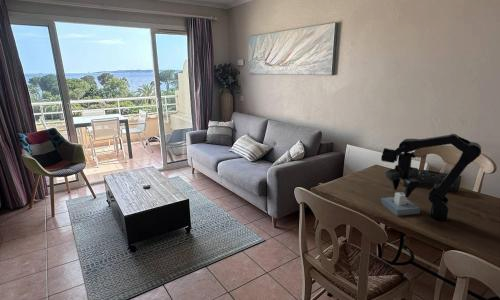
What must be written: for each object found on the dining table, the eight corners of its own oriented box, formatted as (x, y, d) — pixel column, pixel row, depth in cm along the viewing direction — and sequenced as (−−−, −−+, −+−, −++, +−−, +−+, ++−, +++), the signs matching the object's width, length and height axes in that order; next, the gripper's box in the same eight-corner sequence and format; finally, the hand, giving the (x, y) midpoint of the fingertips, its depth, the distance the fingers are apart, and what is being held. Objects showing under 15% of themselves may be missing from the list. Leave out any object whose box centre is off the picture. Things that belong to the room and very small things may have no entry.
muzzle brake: (457, 195, 157) (460, 178, 154) (402, 184, 175) (404, 168, 172) (459, 189, 164) (462, 173, 161) (406, 179, 182) (407, 164, 179)
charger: (405, 209, 143) (407, 194, 141) (398, 210, 143) (399, 195, 141) (400, 206, 147) (402, 191, 145) (393, 206, 147) (395, 192, 145)
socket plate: (419, 213, 139) (420, 207, 138) (396, 215, 138) (397, 209, 137) (401, 201, 152) (402, 195, 151) (381, 203, 151) (381, 197, 150)
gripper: (378, 159, 147) (375, 187, 151) (400, 171, 129) (397, 202, 133) (398, 158, 148) (395, 185, 152) (423, 170, 130) (418, 200, 134)
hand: (400, 193), depth 143 cm, fingers open, 9 cm apart
